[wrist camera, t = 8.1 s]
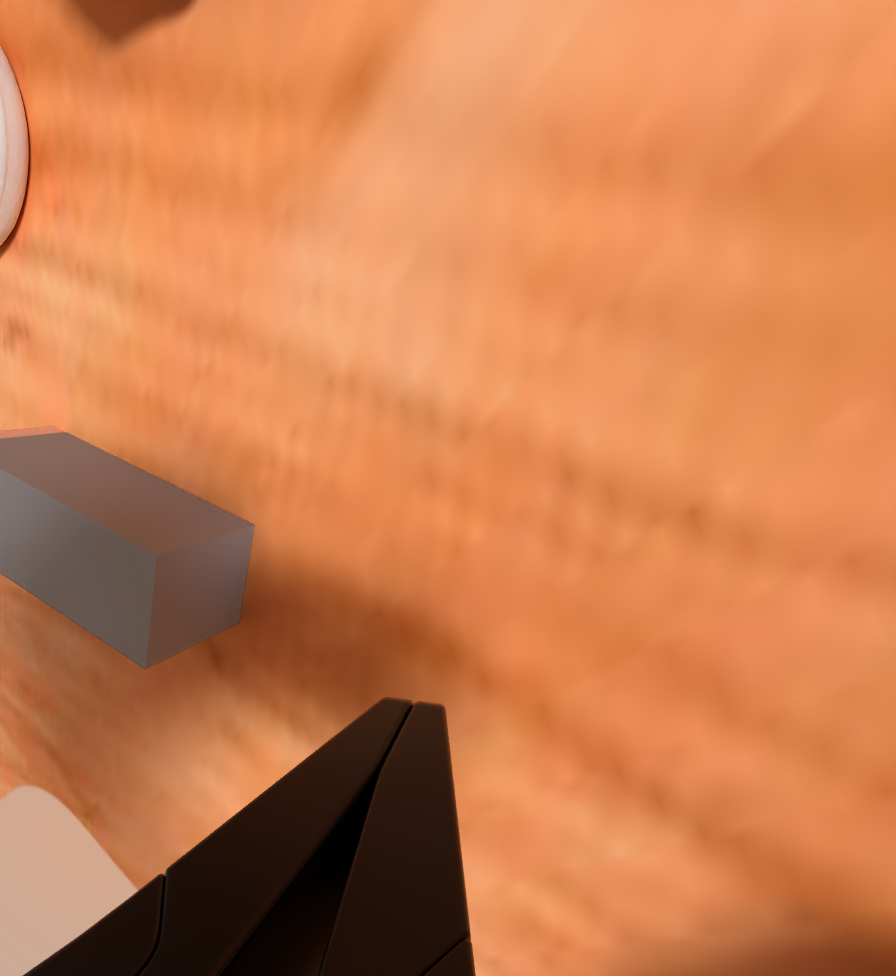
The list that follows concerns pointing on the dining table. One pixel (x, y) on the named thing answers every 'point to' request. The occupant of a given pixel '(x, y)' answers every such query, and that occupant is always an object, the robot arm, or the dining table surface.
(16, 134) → the supplement tub
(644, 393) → the dining table surface
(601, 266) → the dining table surface
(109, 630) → the charcoal block
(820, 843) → the dining table surface
